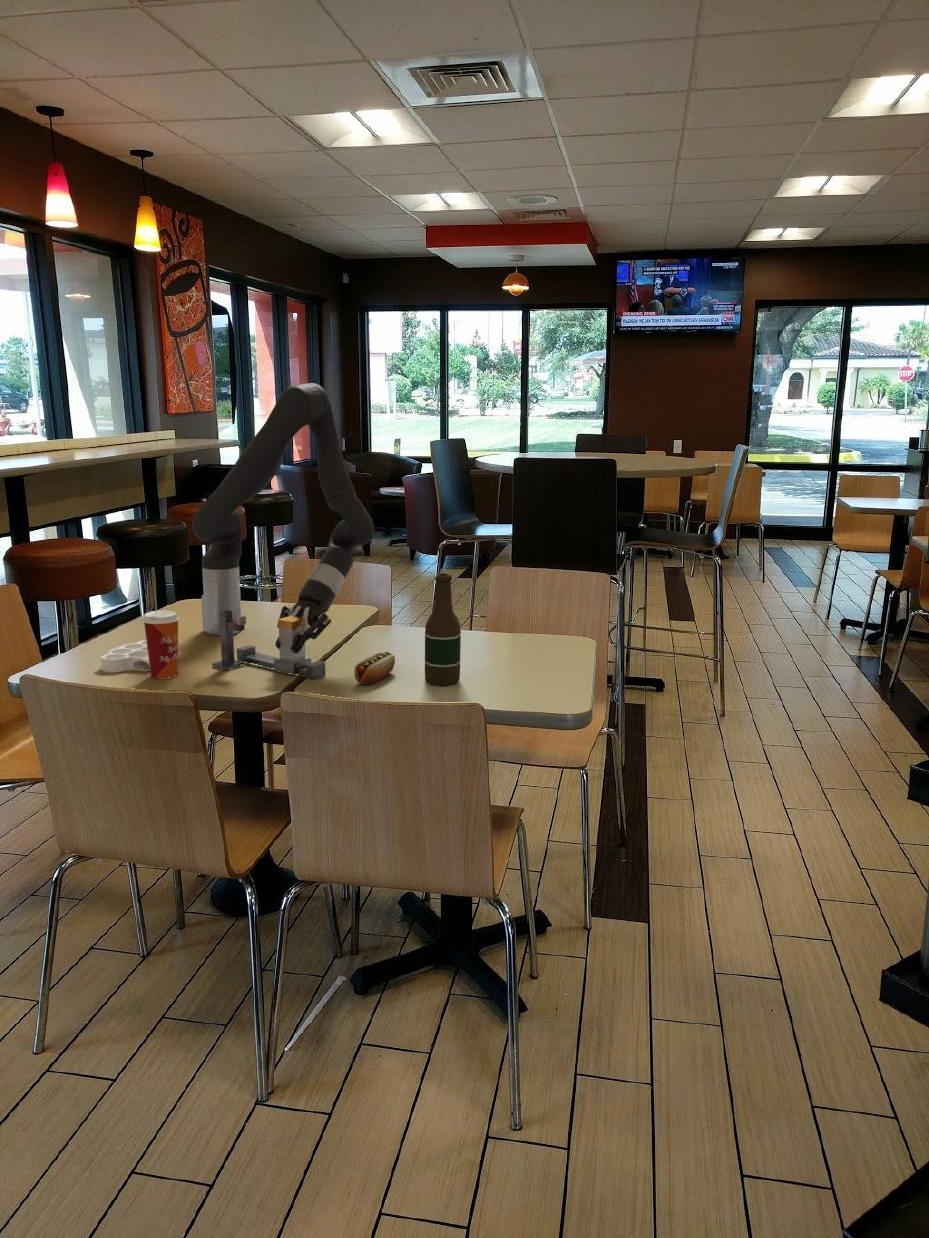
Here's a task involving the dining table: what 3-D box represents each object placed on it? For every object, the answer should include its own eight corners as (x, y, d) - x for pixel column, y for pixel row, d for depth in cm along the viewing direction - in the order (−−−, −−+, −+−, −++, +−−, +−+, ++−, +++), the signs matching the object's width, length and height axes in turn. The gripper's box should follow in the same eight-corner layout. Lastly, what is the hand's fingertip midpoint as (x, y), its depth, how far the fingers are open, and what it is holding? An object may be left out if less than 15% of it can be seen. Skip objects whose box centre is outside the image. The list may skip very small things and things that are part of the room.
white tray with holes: (141, 677, 203) (86, 671, 207) (188, 656, 219) (136, 650, 224) (140, 663, 202) (84, 656, 206) (187, 643, 219) (135, 637, 223)
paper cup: (171, 681, 199) (167, 618, 196) (139, 678, 200) (135, 616, 197) (189, 671, 206) (185, 610, 203) (158, 668, 208) (154, 608, 205)
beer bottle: (423, 676, 206) (424, 571, 200) (458, 676, 206) (460, 571, 201) (425, 687, 198) (426, 578, 192) (461, 686, 199) (463, 578, 193)
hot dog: (400, 672, 208) (400, 651, 207) (371, 689, 197) (371, 666, 195) (380, 669, 210) (380, 648, 209) (351, 685, 199) (350, 663, 197)
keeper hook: (212, 666, 210) (209, 611, 207) (229, 661, 214) (226, 607, 211) (236, 673, 206) (234, 616, 203) (253, 667, 210) (251, 612, 207)
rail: (237, 661, 215) (236, 648, 214) (249, 657, 218) (249, 645, 217) (313, 679, 202) (312, 666, 201) (325, 675, 205) (325, 662, 204)
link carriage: (274, 670, 207) (272, 619, 204) (292, 664, 212) (290, 614, 209) (293, 675, 204) (292, 623, 201) (311, 669, 208) (310, 618, 206)
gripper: (291, 574, 213) (254, 635, 206) (337, 582, 205) (300, 646, 198) (307, 593, 218) (272, 653, 211) (353, 601, 211) (318, 664, 204)
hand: (286, 649), depth 205 cm, fingers closed on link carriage, 4 cm apart
